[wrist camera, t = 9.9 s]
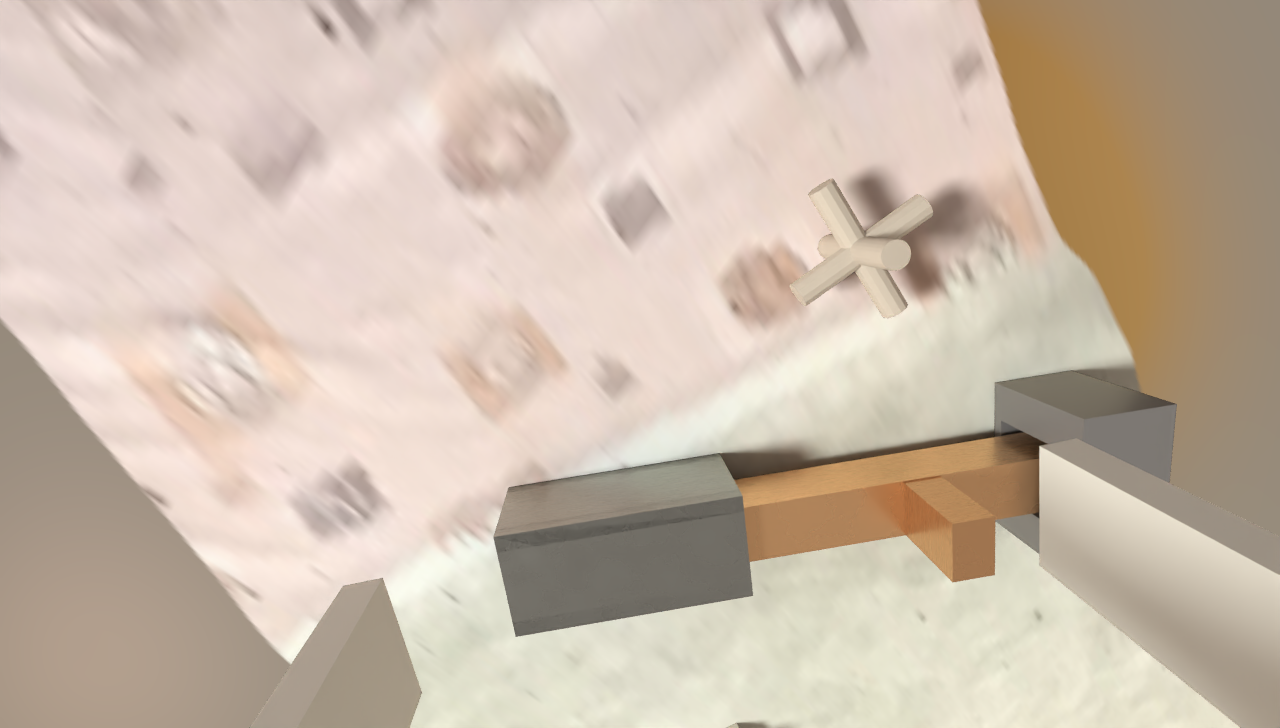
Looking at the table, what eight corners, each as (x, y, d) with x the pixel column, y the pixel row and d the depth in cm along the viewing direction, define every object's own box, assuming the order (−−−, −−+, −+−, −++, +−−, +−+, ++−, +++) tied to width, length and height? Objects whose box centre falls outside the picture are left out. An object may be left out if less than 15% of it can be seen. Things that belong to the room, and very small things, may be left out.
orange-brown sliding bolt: (675, 489, 47) (698, 565, 36) (1042, 429, 48) (1163, 486, 38) (681, 539, 48) (706, 626, 38) (1040, 479, 49) (1157, 547, 39)
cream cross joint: (917, 261, 45) (1006, 273, 36) (808, 338, 46) (866, 370, 36) (852, 148, 43) (928, 128, 33) (738, 231, 44) (780, 235, 34)
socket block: (994, 382, 48) (1084, 419, 40) (1071, 370, 49) (1176, 404, 40) (993, 519, 51) (1075, 581, 43) (1065, 507, 52) (1161, 566, 43)
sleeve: (508, 487, 47) (493, 536, 40) (719, 453, 48) (742, 495, 41) (527, 574, 49) (515, 636, 42) (729, 540, 50) (752, 595, 42)
